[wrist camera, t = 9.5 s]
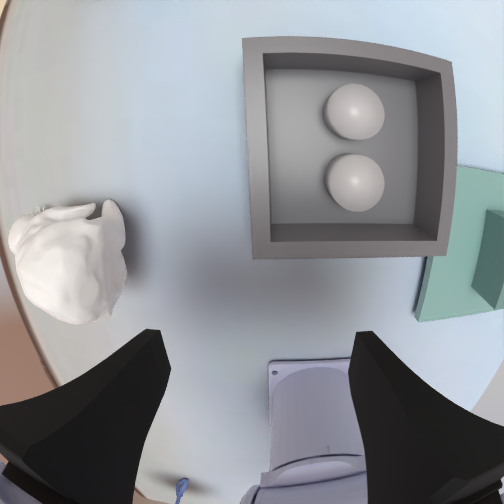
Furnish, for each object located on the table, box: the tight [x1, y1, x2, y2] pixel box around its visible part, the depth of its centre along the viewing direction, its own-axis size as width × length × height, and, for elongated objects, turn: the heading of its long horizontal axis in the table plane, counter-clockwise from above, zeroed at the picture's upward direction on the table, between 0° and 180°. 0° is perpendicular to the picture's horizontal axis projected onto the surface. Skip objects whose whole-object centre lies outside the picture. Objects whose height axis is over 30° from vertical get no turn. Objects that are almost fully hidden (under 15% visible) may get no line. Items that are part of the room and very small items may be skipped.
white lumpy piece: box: [8, 199, 127, 325], centre depth 16 cm, size 6×8×12 cm
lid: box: [414, 166, 504, 322], centre depth 14 cm, size 11×11×5 cm
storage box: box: [242, 36, 457, 259], centre depth 14 cm, size 11×11×4 cm
